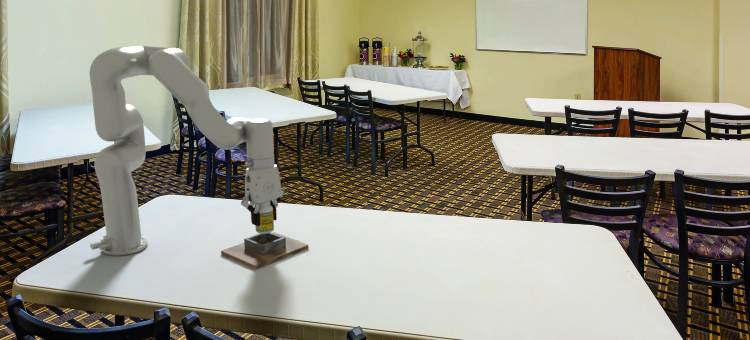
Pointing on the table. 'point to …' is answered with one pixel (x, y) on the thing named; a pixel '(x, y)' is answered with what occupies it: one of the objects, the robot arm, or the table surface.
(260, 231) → the supplement bottle
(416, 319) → the table surface
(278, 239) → the board with square frame
